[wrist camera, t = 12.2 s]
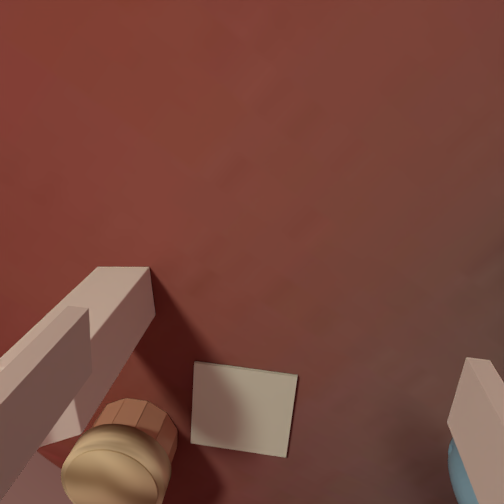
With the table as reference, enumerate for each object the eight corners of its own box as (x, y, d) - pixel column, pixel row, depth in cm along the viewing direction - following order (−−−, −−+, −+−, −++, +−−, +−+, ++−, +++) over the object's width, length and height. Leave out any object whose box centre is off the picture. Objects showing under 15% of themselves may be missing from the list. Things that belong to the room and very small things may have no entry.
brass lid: (171, 507, 56) (162, 534, 53) (77, 493, 57) (63, 518, 54) (171, 431, 52) (162, 455, 49) (70, 417, 53) (55, 439, 50)
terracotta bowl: (178, 405, 58) (165, 438, 53) (176, 469, 62) (164, 506, 56) (96, 393, 58) (75, 424, 53) (99, 457, 62) (80, 492, 57)
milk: (149, 266, 51) (46, 395, 31) (156, 315, 53) (64, 467, 33) (96, 266, 52) (-40, 392, 32) (104, 314, 54) (-17, 463, 34)
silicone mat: (297, 374, 54) (297, 377, 54) (286, 455, 59) (286, 457, 58) (194, 360, 55) (194, 362, 55) (191, 440, 60) (190, 443, 59)
